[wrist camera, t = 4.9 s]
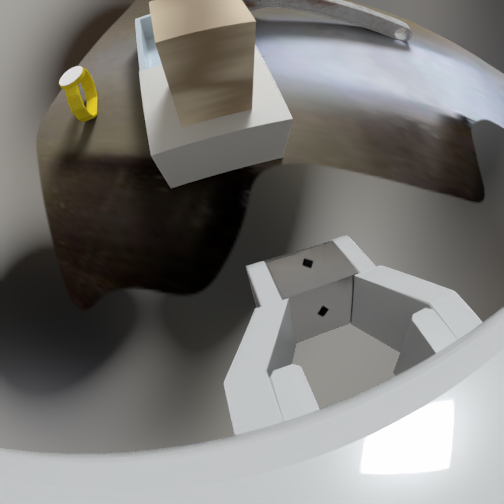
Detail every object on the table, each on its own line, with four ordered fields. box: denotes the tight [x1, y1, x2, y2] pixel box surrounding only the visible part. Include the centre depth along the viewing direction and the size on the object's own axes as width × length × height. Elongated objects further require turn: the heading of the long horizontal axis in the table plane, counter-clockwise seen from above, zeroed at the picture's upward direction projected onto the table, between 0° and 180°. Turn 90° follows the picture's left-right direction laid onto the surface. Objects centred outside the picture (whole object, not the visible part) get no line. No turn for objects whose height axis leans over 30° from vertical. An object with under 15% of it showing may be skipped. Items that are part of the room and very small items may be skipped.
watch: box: [59, 66, 98, 122], centre depth 23 cm, size 6×3×6 cm, turn 15°
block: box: [149, 0, 256, 127], centre depth 15 cm, size 5×5×8 cm
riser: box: [139, 45, 293, 188], centre depth 22 cm, size 10×9×6 cm
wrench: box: [242, 0, 412, 41], centre depth 26 cm, size 8×2×30 cm
